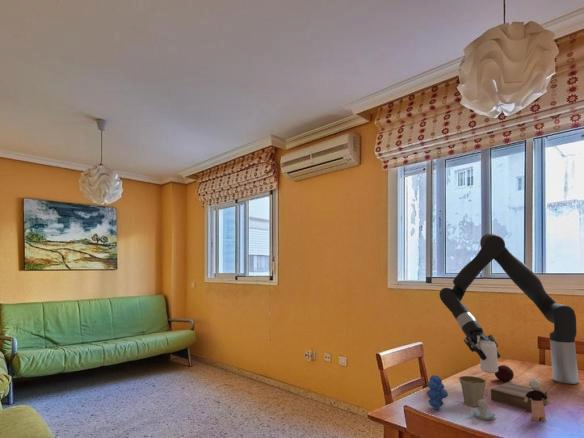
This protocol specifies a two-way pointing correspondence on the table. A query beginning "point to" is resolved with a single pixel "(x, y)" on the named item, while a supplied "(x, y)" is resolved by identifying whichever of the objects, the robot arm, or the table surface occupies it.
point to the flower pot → (472, 389)
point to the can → (489, 356)
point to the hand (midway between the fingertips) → (491, 358)
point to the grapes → (436, 392)
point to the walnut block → (513, 395)
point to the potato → (504, 373)
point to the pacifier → (483, 411)
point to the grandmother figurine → (536, 400)
